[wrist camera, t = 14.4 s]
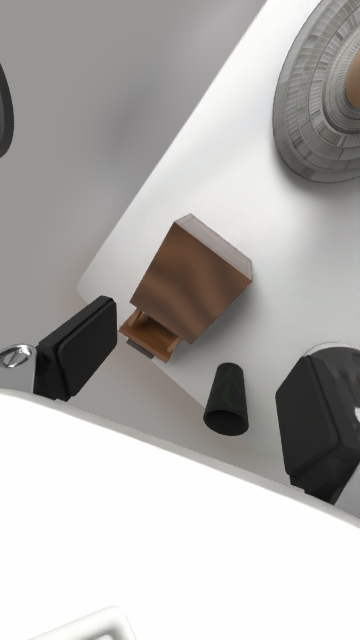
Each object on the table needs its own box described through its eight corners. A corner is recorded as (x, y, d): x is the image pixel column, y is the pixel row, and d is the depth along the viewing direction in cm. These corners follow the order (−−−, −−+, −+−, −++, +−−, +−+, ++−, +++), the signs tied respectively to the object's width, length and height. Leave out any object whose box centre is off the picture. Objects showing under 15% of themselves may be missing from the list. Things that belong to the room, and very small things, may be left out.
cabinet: (200, 316, 40) (190, 344, 33) (150, 281, 38) (129, 302, 31) (251, 260, 32) (252, 281, 25) (190, 213, 30) (174, 221, 23)
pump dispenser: (331, 384, 40) (369, 473, 28) (283, 360, 40) (300, 438, 28) (380, 351, 34) (457, 445, 22) (324, 323, 34) (368, 401, 22)
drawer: (167, 350, 45) (156, 373, 40) (127, 324, 44) (110, 343, 39) (212, 299, 36) (206, 320, 30) (163, 264, 35) (148, 278, 29)
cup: (230, 353, 42) (225, 402, 33) (255, 375, 44) (258, 429, 34) (205, 369, 47) (194, 417, 37) (229, 388, 48) (224, 440, 38)
